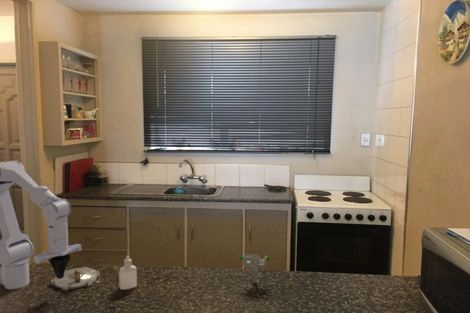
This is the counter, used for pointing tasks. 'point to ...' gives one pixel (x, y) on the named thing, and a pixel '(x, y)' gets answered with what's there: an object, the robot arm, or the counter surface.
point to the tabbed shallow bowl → (76, 278)
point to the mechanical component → (254, 263)
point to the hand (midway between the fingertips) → (59, 277)
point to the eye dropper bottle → (128, 275)
